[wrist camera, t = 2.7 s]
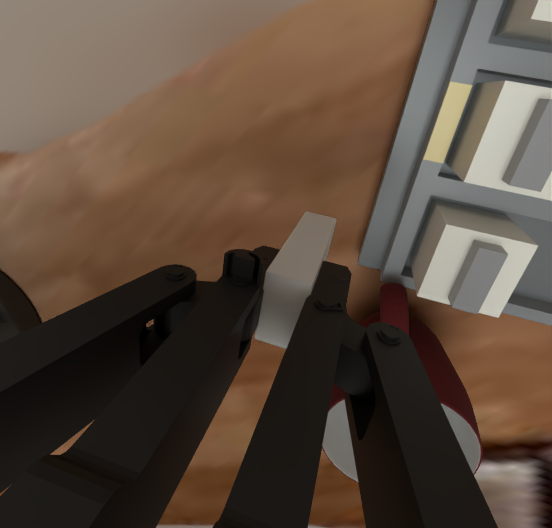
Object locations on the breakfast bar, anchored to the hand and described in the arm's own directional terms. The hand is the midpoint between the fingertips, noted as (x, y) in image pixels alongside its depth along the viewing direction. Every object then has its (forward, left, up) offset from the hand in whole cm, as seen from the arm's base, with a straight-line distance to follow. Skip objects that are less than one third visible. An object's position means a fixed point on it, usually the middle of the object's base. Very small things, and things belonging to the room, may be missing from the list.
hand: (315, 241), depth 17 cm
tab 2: (+8, 0, -6) cm, 9 cm away
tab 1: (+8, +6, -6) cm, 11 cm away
